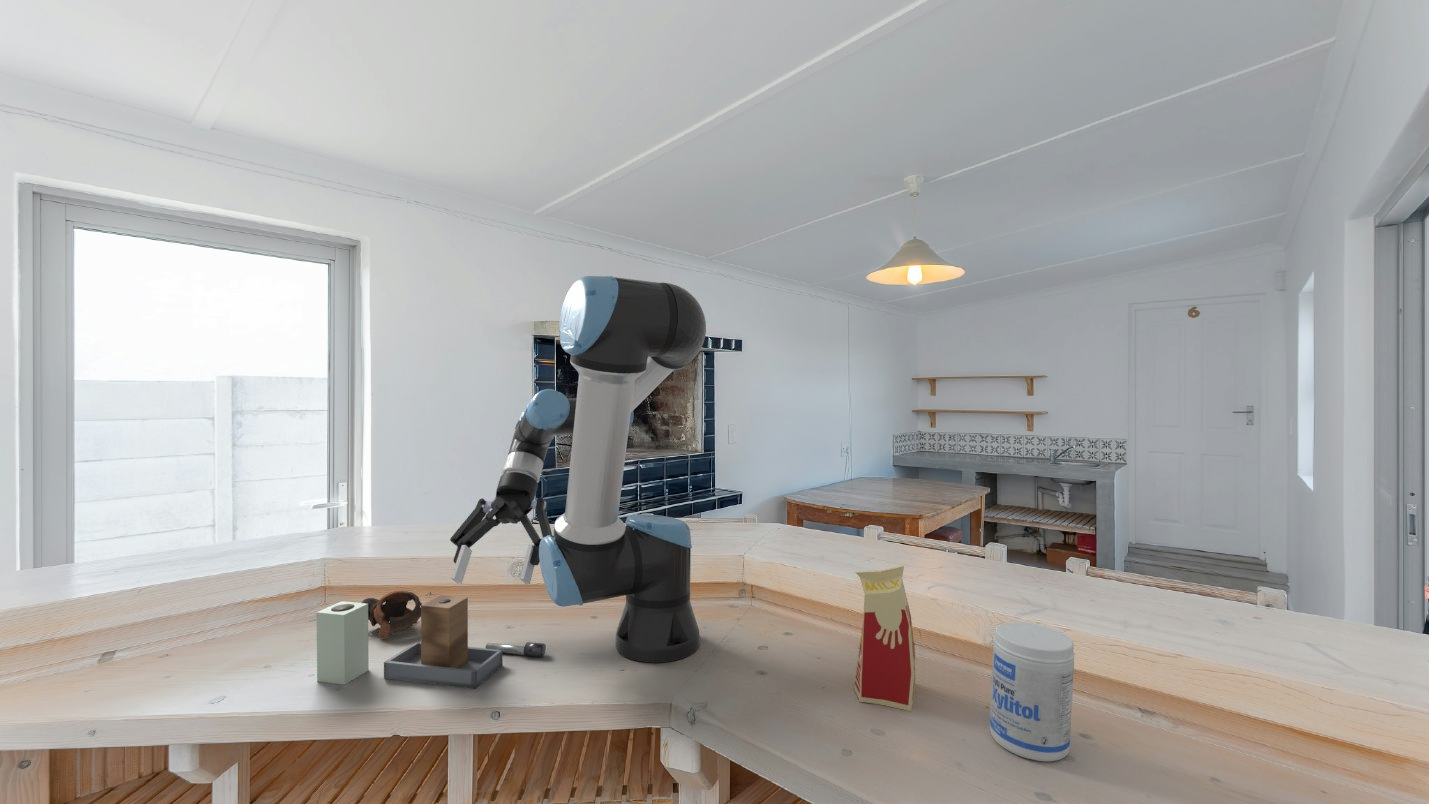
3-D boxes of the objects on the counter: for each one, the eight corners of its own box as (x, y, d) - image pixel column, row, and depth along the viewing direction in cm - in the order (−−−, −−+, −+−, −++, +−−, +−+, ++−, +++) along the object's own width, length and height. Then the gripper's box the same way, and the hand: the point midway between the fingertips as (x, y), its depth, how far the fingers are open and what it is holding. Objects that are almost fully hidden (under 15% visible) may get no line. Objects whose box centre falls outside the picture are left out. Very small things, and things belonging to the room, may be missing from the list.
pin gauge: (545, 653, 107) (545, 641, 107) (539, 659, 105) (539, 646, 105) (490, 648, 109) (490, 636, 109) (483, 653, 107) (483, 641, 107)
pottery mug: (430, 620, 123) (433, 591, 119) (408, 659, 115) (410, 630, 111) (370, 606, 122) (370, 576, 118) (342, 645, 113) (342, 614, 110)
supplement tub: (980, 744, 81) (983, 635, 81) (1000, 715, 88) (1003, 614, 88) (1062, 775, 75) (1066, 657, 74) (1077, 741, 82) (1081, 633, 82)
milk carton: (915, 683, 98) (917, 559, 97) (914, 712, 89) (916, 576, 88) (857, 673, 101) (859, 553, 100) (850, 701, 92) (852, 569, 91)
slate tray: (502, 665, 102) (502, 650, 102) (474, 688, 94) (474, 672, 94) (417, 656, 105) (417, 641, 105) (383, 678, 98) (383, 662, 97)
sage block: (368, 670, 100) (368, 603, 100) (344, 684, 95) (344, 614, 95) (342, 667, 101) (341, 600, 101) (317, 681, 96) (316, 612, 96)
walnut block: (467, 662, 102) (467, 597, 102) (449, 676, 97) (449, 607, 97) (440, 659, 103) (440, 594, 103) (421, 673, 98) (420, 605, 98)
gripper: (584, 487, 125) (561, 589, 113) (472, 489, 130) (438, 588, 117) (571, 468, 119) (546, 574, 107) (454, 471, 124) (417, 573, 111)
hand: (490, 581), depth 112 cm, fingers open, 13 cm apart
